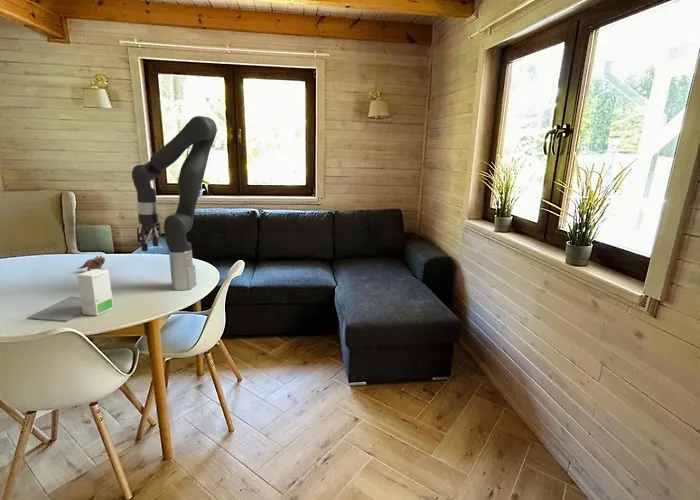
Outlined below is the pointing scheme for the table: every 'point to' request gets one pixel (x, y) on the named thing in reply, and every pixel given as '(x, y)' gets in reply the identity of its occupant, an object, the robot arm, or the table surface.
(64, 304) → the slate mat
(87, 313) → the skincare box
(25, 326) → the table surface
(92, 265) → the dinosaur figurine
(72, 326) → the table surface
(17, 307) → the table surface
